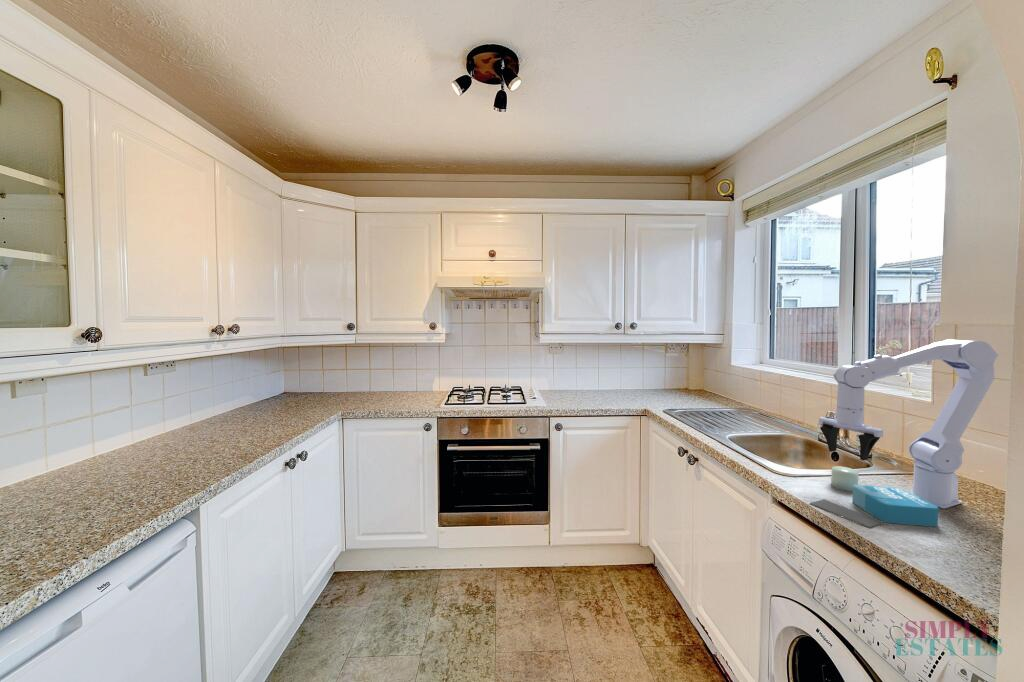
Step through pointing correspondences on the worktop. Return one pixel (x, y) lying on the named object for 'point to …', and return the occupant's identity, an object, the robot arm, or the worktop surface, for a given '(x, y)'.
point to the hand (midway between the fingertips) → (847, 455)
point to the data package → (895, 505)
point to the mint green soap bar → (844, 478)
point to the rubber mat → (847, 513)
